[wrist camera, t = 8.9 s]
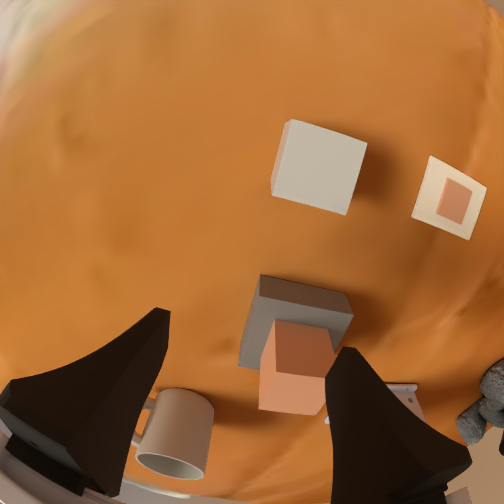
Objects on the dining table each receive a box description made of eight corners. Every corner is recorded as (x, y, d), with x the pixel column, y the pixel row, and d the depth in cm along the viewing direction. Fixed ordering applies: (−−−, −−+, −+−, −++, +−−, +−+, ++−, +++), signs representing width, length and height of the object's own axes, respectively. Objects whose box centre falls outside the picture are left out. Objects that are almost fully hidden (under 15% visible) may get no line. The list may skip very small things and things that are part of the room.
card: (484, 187, 17) (488, 188, 16) (467, 239, 19) (470, 241, 18) (429, 155, 17) (433, 156, 16) (410, 216, 19) (414, 218, 18)
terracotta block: (308, 365, 21) (315, 415, 16) (260, 357, 21) (258, 409, 16) (327, 328, 19) (340, 379, 15) (274, 319, 19) (275, 371, 15)
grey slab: (344, 293, 21) (354, 314, 19) (315, 354, 24) (319, 378, 22) (260, 274, 21) (259, 295, 18) (241, 341, 24) (238, 365, 21)
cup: (201, 426, 31) (190, 483, 22) (130, 395, 29) (106, 451, 21) (225, 402, 28) (215, 470, 20) (142, 366, 26) (113, 431, 18)
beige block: (342, 140, 17) (367, 143, 12) (326, 195, 19) (345, 215, 14) (284, 123, 17) (291, 118, 12) (270, 180, 18) (272, 195, 14)
